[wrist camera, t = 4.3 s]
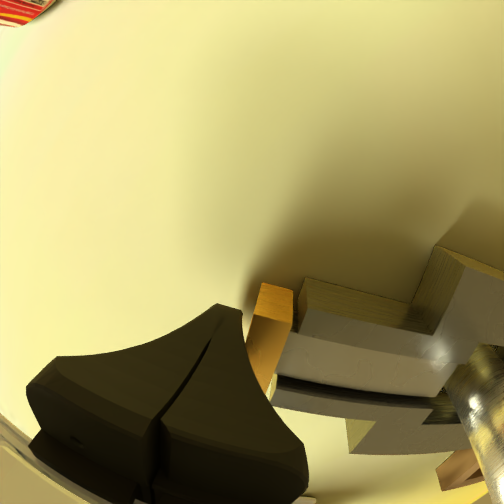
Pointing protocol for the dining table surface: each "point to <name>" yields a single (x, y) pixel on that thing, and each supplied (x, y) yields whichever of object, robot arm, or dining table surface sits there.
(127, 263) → the dining table surface
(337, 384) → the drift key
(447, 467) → the frame
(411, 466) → the dining table surface
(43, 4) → the soda can
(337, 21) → the dining table surface
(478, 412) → the metal cylindrical peg
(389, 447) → the socket block
